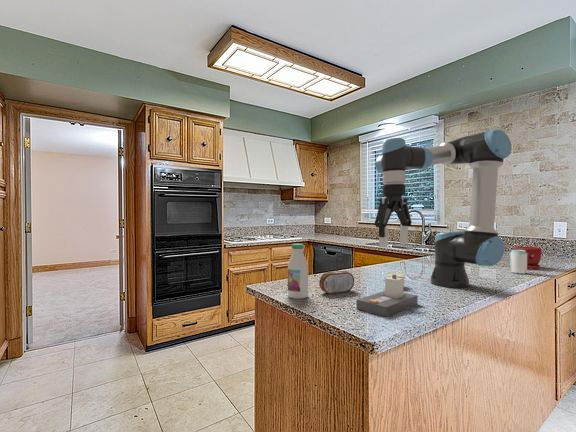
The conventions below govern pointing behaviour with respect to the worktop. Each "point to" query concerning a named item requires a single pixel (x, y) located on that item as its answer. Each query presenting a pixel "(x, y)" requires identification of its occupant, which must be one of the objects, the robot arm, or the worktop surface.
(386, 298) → the power strip
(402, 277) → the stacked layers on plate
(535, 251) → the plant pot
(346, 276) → the tin
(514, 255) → the can
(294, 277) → the milk bottle
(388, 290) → the block
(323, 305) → the worktop surface
